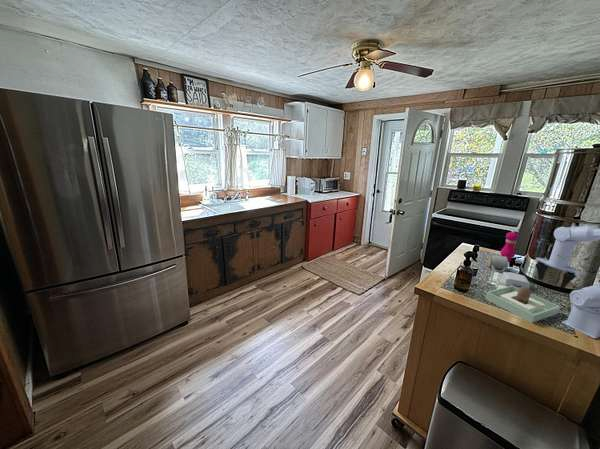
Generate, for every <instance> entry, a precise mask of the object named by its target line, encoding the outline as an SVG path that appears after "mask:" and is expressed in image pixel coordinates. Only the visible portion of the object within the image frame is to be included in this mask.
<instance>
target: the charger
mask: <svg viewBox="0 0 600 449" xmlns="http://www.w3.org/2000/svg"><path fill="white" fill-rule="evenodd" d="M501 279H502V282H503V284H504V286H505V287H508V286H512V285H513V286H515V287H517V288H519V287H524V288H528V289H530V287H531V283H530V281H529V280H528V279H527V277H526V276H525V275H522V274H518V273H515V272H510V271H509V272H508V271H504V272H502V276H501Z"/></svg>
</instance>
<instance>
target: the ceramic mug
mask: <svg viewBox="0 0 600 449" xmlns="http://www.w3.org/2000/svg"><path fill="white" fill-rule="evenodd" d="M508 265H509V262H508V259H507V257H503V256H501V255H490V256H488V259H487V266H488V267H489V268H491V269H492V270H493V271H494V272H496V273H499V274H500V273H502V274H503V273H504V272H505V271H506V270H507V269H508Z"/></svg>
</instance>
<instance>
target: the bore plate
mask: <svg viewBox="0 0 600 449" xmlns="http://www.w3.org/2000/svg"><path fill="white" fill-rule="evenodd" d="M517 294H518V292H517V291H514V292H510V293H507V294H503V295H500V297H499V298H501V299H503V300H505V301H507V302H509V303H511V304H513V305H515V306H517V307H520V308H522V309H524V310H526V311H528V312H530V313H532V314H534V313H537V312H540V311H543V309H544V306H545V304H543V303H541V302H539V301H536V300H534V299H532V298H529V301H528V304H526V305H525V304H523V303H521V302H519V301H517V300H516V297H517Z"/></svg>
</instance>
